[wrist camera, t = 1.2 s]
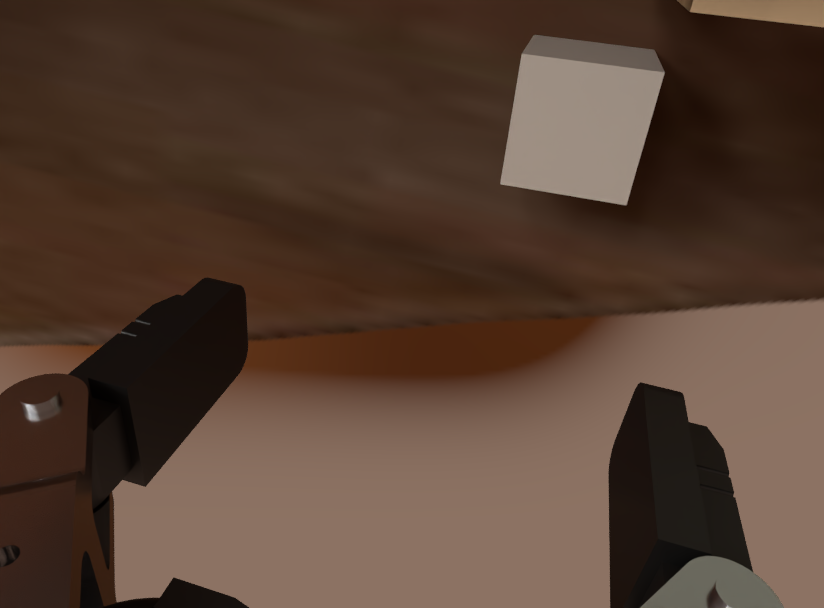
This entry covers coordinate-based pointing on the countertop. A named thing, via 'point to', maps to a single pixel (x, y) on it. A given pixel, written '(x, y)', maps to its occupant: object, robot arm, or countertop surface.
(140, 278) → the countertop surface
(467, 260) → the countertop surface
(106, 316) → the countertop surface
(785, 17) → the frame
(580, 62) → the white cube
